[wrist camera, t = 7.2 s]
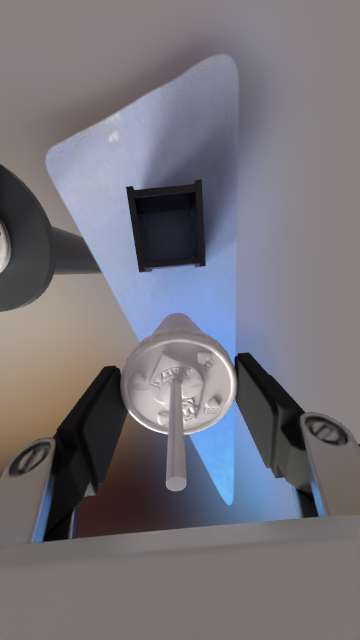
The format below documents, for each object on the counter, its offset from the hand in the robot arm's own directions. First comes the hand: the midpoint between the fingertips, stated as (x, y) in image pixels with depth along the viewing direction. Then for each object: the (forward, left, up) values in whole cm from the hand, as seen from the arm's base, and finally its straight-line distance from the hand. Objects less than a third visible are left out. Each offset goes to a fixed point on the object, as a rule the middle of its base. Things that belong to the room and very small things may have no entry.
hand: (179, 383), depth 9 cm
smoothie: (0, 0, -9) cm, 9 cm away
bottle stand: (0, +11, -22) cm, 24 cm away
